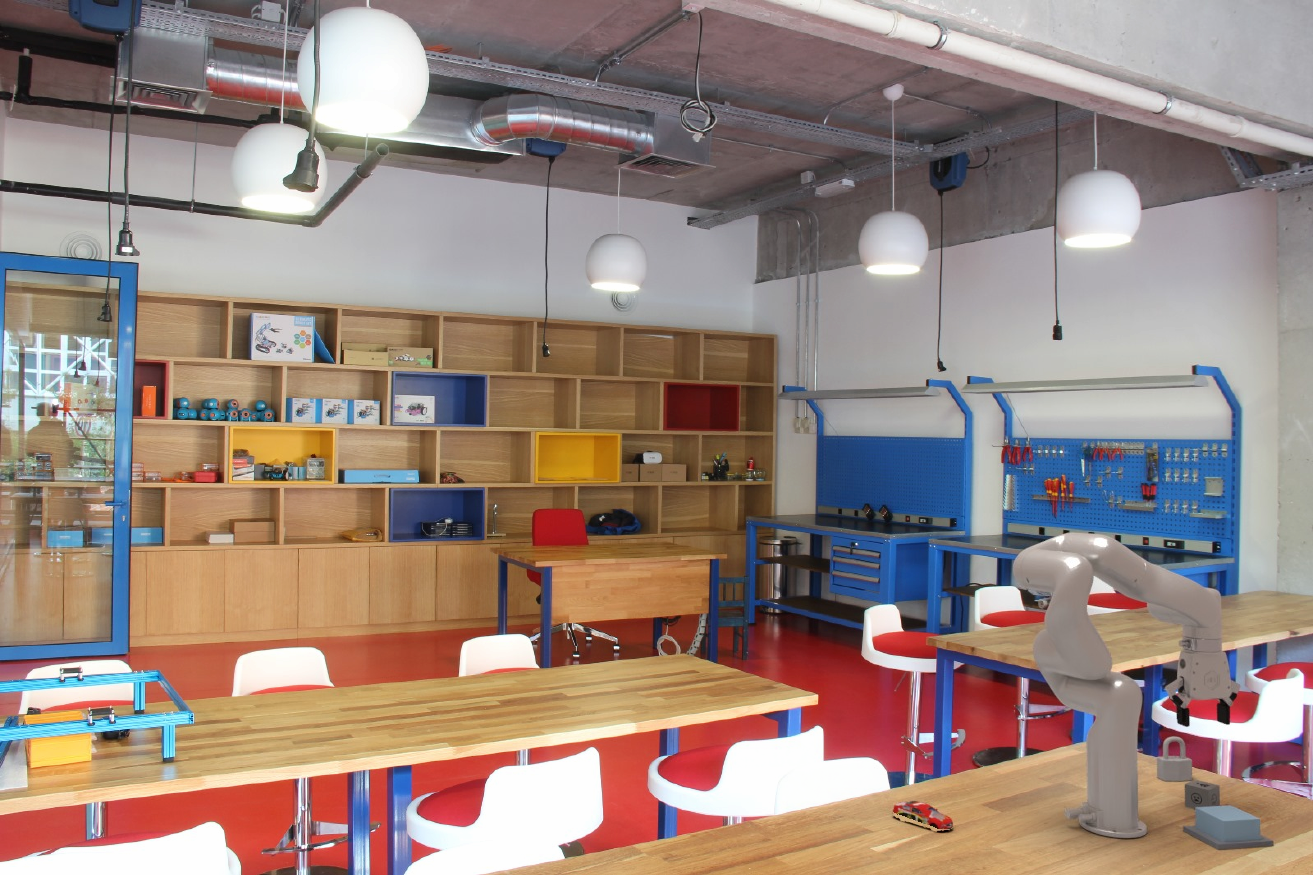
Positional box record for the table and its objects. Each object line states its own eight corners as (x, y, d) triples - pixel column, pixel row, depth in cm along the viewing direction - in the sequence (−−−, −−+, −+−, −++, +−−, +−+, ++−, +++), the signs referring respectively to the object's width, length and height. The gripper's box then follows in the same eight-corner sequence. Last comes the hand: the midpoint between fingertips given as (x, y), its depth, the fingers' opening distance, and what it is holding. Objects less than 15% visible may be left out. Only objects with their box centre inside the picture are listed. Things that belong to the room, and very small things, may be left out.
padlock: (1165, 782, 236) (1164, 739, 236) (1155, 777, 240) (1154, 734, 240) (1194, 781, 237) (1193, 738, 237) (1183, 776, 241) (1183, 734, 241)
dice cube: (1208, 813, 215) (1208, 790, 215) (1184, 807, 219) (1184, 784, 219) (1219, 808, 218) (1219, 785, 218) (1196, 802, 222) (1195, 779, 222)
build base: (1218, 849, 195) (1218, 823, 195) (1183, 831, 204) (1182, 806, 205) (1273, 846, 197) (1273, 820, 197) (1236, 827, 206) (1235, 803, 207)
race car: (958, 830, 206) (958, 811, 206) (943, 837, 202) (943, 816, 202) (904, 813, 216) (905, 794, 216) (889, 818, 212) (889, 799, 213)
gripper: (1177, 649, 214) (1179, 730, 214) (1250, 646, 217) (1251, 727, 217) (1154, 643, 222) (1156, 721, 221) (1225, 640, 225) (1226, 718, 224)
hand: (1203, 724), depth 219 cm, fingers open, 9 cm apart
